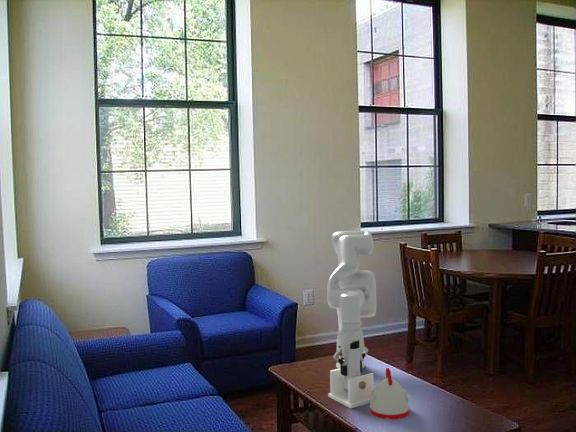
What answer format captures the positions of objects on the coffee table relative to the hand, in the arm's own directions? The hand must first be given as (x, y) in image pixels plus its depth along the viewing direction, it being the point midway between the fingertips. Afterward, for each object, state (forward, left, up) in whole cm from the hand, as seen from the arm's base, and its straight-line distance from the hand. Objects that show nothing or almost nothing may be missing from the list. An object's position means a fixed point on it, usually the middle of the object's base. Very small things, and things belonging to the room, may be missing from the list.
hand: (351, 372), depth 214 cm
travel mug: (0, 0, -7) cm, 7 cm away
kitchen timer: (+17, +4, -10) cm, 20 cm away
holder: (0, 0, -10) cm, 10 cm away
